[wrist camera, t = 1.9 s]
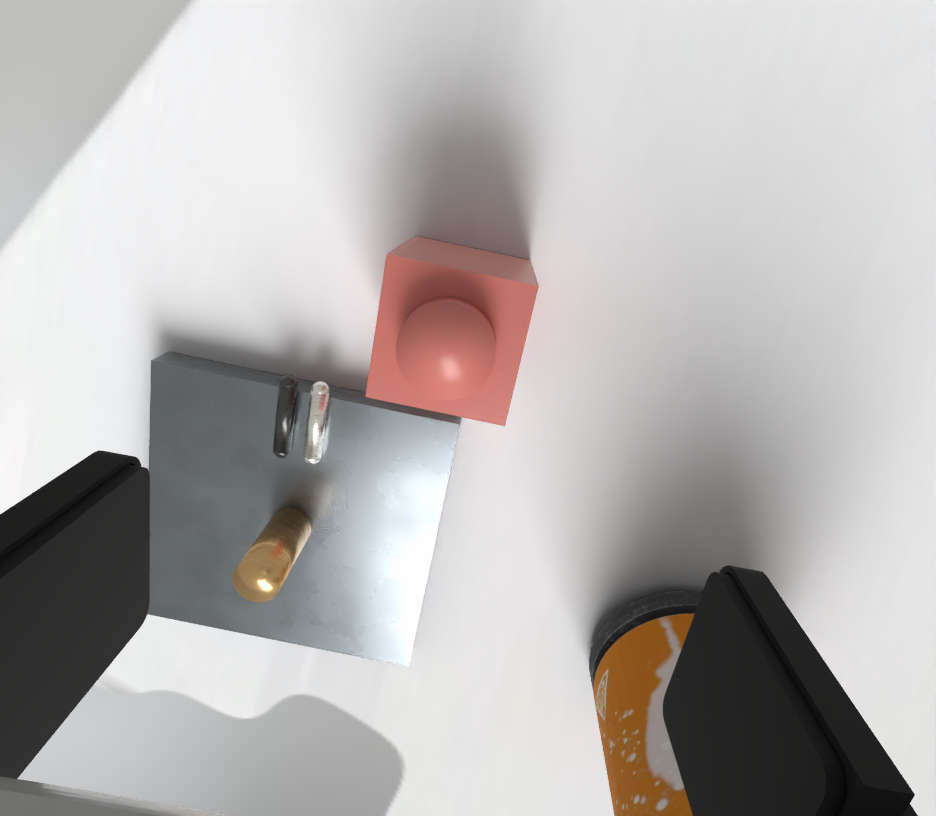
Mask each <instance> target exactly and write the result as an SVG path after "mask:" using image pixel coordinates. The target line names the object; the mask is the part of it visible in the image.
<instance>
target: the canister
mask: <svg viewBox="0 0 936 816" xmlns="http://www.w3.org/2000/svg"><path fill="white" fill-rule="evenodd" d="M701 596H702V593H698V592H689V591H674V592H666V593H659V594H655V595H652V596H648V597H645V598H643V599H640V600H638V601H635V602H633V603H631V604H630V605H628V606H626V607H625V608H623V609H621V610H620V611H619V612H617V613H616V614H615V615H614V616H612V617H611V618H610V619H609V620H608V621H607V623H606V624H605V625H604V626H603V627H602V628H601V630H600V632H599V633H598V635H597V636H596V638H595V641H594V643H593V645H592V648H591V653H590V658H589V670H590V676H591V681H592V687H593V692H594V699H595V705H596V711H597V716H598V722H599V728H600V734H601V740H602V745H603V751H604V757H605V763H606V769H607V774H608V780H609V786H610V792H611V798H612V803H613V809H614V815H615V816H693V815H692V811H691V808H690V805H689V801H688V798H687V795H686V792H685V788H684V785H683V782H682V778H681V775H680V772H679V769H678V765H677V762H676V759H675V755H674V752H673V749H672V746H671V742H670V739H669V736H668V732H667V729H666V726H665V723H664V718H663V699H664V696H665V692H666V690H667V687H668V684H669V682H670V679H671V676H672V674H673V671H674V668H675V666H676V663H677V660H678V657H679V655H680V652H681V649H682V647H683V644H684V641H685V639H686V636H687V633H688V631H689V628H690V625H691V622H692V620H693V617H694V614H695V612H696V609H697V606H698V604H699V601H700V598H701Z"/></svg>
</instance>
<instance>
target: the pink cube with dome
mask: <svg viewBox="0 0 936 816" xmlns="http://www.w3.org/2000/svg"><path fill="white" fill-rule="evenodd" d="M537 290H538V283H537V280H536V276H535V273H534V270H533V267H532V264H531V261H530V260H527V259H522V258H517V257H513V256H508V255H503V254H499V253H494V252H489V251H485V250H480V249H475V248H470V247H466V246H461V245H456V244H452V243H447V242H442V241H438V240H433V239H428V238H424V237H419V236H415V237H414V238H412V239H410V240H409V241H407V242H405V243H404V244H402V245H400V246H399V247H397V248H396V249H394V250H392V251H391V252H389V253H387V257H386V264H385V270H384V277H383V283H382V290H381V296H380V303H379V310H378V316H377V323H376V329H375V336H374V343H373V349H372V356H371V362H370V369H369V375H368V382H367V389H366V395H365V397H368V398H373V399H378V400H382V401H387V402H392V403H397V404H401V405H406V406H411V407H416V408H421V409H425V410H430V411H435V412H440V413H445V414H449V415H454V416H459V417H464V418H469V419H473V420H478V421H483V422H488V423H493V424H497V425H502V426H505V423H506V419H507V415H508V411H509V407H510V403H511V398H512V394H513V390H514V386H515V382H516V378H517V373H518V369H519V365H520V361H521V357H522V353H523V348H524V344H525V340H526V336H527V332H528V328H529V323H530V319H531V315H532V311H533V307H534V303H535V298H536V294H537Z"/></svg>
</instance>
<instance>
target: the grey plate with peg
mask: <svg viewBox="0 0 936 816" xmlns="http://www.w3.org/2000/svg"><path fill="white" fill-rule="evenodd" d="M365 395H366V393H364V392H359V391H354V390H349V389H345V388H340V387H335V386H330V385H327V384H326V383H325V382H322V381H318V382H311V381H306V380H302V379H297V378H296V377H294V376H293V375H285V376H282V375H278V374H273V373H268V372H263V371H258V370H254V369H249V368H244V367H239V366H234V365H230V364H225V363H220V362H215V361H211V360H206V359H201V358H196V357H191V356H187V355H182V354H177V353H172V352H167V353H165V354H163V355H161V356H159V357H157V358H155V359H153V360H151V402H150V445H149V474H150V602H149V609H148V613H147V614H150V615H155V616H159V617H164V618H169V619H174V620H179V621H184V622H189V623H194V624H199V625H204V626H209V627H214V628H219V629H224V630H229V631H234V632H239V633H244V634H249V635H254V636H258V637H263V638H268V639H273V640H278V641H283V642H288V643H293V644H298V645H303V646H308V647H313V648H318V649H323V650H328V651H333V652H338V653H343V654H348V655H353V656H357V657H362V658H367V659H372V660H377V661H382V662H387V663H392V664H397V665H402V666H407V667H409V663H410V658H411V653H412V649H413V644H414V639H415V635H416V630H417V625H418V620H419V616H420V611H421V606H422V602H423V597H424V592H425V587H426V583H427V578H428V573H429V569H430V564H431V559H432V554H433V550H434V545H435V540H436V536H437V531H438V526H439V522H440V517H441V512H442V507H443V503H444V498H445V493H446V489H447V484H448V479H449V474H450V470H451V465H452V460H453V456H454V451H455V446H456V441H457V437H458V432H459V427H460V422H461V417H459V416H454V415H449V414H445V413H440V412H435V411H430V410H425V409H421V408H416V407H411V406H406V405H401V404H397V403H392V402H387V401H382V400H378V399H373V398H368V397H365Z"/></svg>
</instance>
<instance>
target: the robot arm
mask: <svg viewBox="0 0 936 816" xmlns="http://www.w3.org/2000/svg"><path fill="white" fill-rule="evenodd" d="M149 602H150V474H149V471H148V469H147V468H144V467H141V464H140V461H139V459H138V458H136V457H133V456H128V455H122V454H117V453H112V452H106V451H97V452H94V453H93V454H91V455H90V456H88V457H87V458H85V459H84V460H82V461H81V462H79V463H78V464H76V465H75V466H73V467H72V468H70V469H69V470H67V471H66V472H64V473H62V474H61V475H59V476H58V477H56V478H55V479H53V480H52V481H50V482H49V483H47V484H46V485H44V486H43V487H41V488H40V489H38V490H37V491H35V492H34V493H32V494H31V495H29V496H28V497H26V498H25V499H23V500H22V501H20V502H19V503H17V504H16V505H14V506H13V507H11V508H10V509H8V510H7V511H5V512H3V513H2V514H0V816H233V815H228V814H222V813H216V812H209V811H204V810H198V809H192V808H185V807H180V806H174V805H168V804H162V803H157V802H151V801H145V800H139V799H133V798H127V797H121V796H115V795H109V794H103V793H98V792H92V791H85V790H80V789H73V788H68V787H62V786H56V785H49V784H44V783H38V782H32V781H26V780H19V779H17V778H18V777H19V776H20V774H21V773H22V772H23V771H24V769H25V768H26V767H27V766H28V764H29V763H30V762H31V761H32V760H33V759H34V757H35V756H36V755H37V753H38V752H39V751H40V750H41V749H42V747H43V746H44V745H45V744H46V742H47V741H48V740H49V739H50V738H51V736H52V735H53V734H54V733H55V731H56V730H57V729H58V728H59V727H60V725H61V724H62V723H63V722H64V720H65V719H66V718H67V717H68V715H69V714H70V713H71V712H72V711H73V709H74V708H75V707H76V706H77V704H78V703H79V702H80V701H81V699H82V698H83V697H84V696H85V695H86V693H87V692H88V691H89V690H90V688H91V687H92V686H93V685H94V683H95V682H96V681H97V680H98V679H99V677H100V676H101V675H102V674H103V672H104V671H105V670H106V669H107V667H108V666H109V665H110V664H111V663H112V661H113V660H114V659H115V658H116V656H117V655H118V654H119V653H120V652H121V650H122V649H123V648H124V647H125V645H126V644H127V643H128V642H129V640H130V639H131V638H132V637H133V636H134V634H135V633H136V632H137V631H138V629H139V628H140V627H141V625H142V624H143V622H144V620H145V618H146V616H147V613H148V609H149ZM663 718H664V723H665V726H666V729H667V732H668V736H669V739H670V742H671V746H672V749H673V752H674V755H675V759H676V762H677V765H678V769H679V772H680V775H681V778H682V782H683V785H684V788H685V792H686V795H687V798H688V801H689V805H690V808H691V811H692V815H693V816H918V815H917V814H916V812H915V811H914V809H913V808H912V806H911V805H910V802H911V800H912V799H913V797H914V795H915V794H914V793H913V791H912V790H911V788H910V787H909V785H908V784H907V782H906V781H905V779H904V778H903V777H902V775H901V774H900V772H899V771H898V769H897V768H896V766H895V765H894V763H893V762H892V760H891V759H890V757H889V756H888V754H887V753H886V751H885V750H884V749H883V747H882V746H881V744H880V743H879V741H878V740H877V738H876V737H875V735H874V734H873V732H872V731H871V729H870V728H869V726H868V725H867V723H866V722H865V721H864V719H863V718H862V716H861V715H860V713H859V712H858V710H857V709H856V707H855V706H854V704H853V703H852V701H851V700H850V698H849V697H848V695H847V694H846V693H845V691H844V690H843V688H842V687H841V685H840V684H839V682H838V681H837V679H836V678H835V676H834V675H833V673H832V672H831V670H830V669H829V667H828V666H827V664H826V663H825V662H824V660H823V659H822V657H821V656H820V654H819V653H818V651H817V650H816V648H815V647H814V645H813V644H812V642H811V641H810V639H809V638H808V636H807V635H806V634H805V632H804V631H803V629H802V628H801V626H800V625H799V623H798V622H797V620H796V619H795V617H794V616H793V614H792V613H791V611H790V610H789V608H788V607H787V606H786V604H785V603H784V601H783V600H782V598H781V597H780V595H779V594H778V592H777V591H776V589H775V588H774V586H773V585H772V583H771V582H770V580H769V579H768V578H767V576H766V575H765V574H764V573H763V572H760V571H755V570H749V569H744V568H738V567H733V566H725V567H723V568H722V569H721V571H720V572H719V573H717V572H713V573H711V575H710V576H709V578H708V580H707V582H706V585H705V587H704V590H703V593H702V596H701V598H700V601H699V604H698V606H697V609H696V612H695V614H694V617H693V620H692V622H691V625H690V628H689V631H688V633H687V636H686V639H685V641H684V644H683V647H682V649H681V652H680V655H679V657H678V660H677V663H676V666H675V668H674V671H673V674H672V676H671V679H670V682H669V684H668V687H667V690H666V692H665V696H664V699H663Z"/></svg>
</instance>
